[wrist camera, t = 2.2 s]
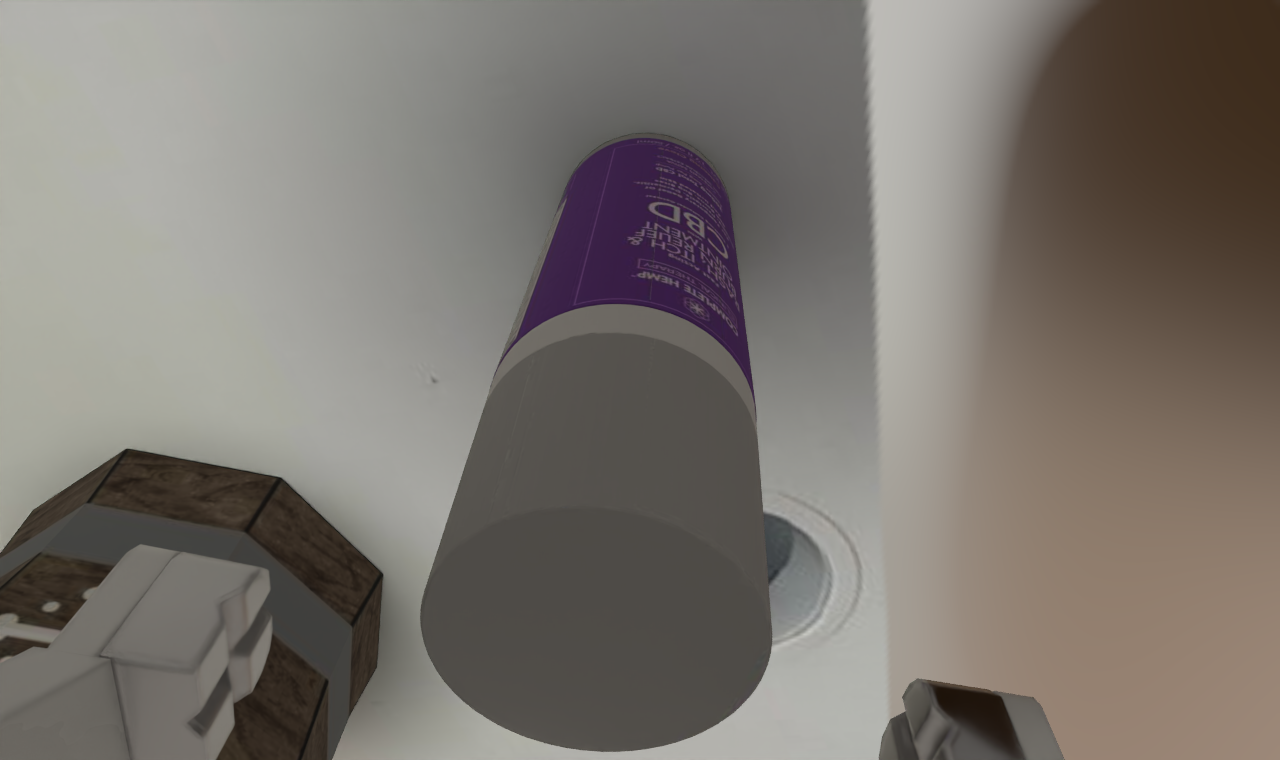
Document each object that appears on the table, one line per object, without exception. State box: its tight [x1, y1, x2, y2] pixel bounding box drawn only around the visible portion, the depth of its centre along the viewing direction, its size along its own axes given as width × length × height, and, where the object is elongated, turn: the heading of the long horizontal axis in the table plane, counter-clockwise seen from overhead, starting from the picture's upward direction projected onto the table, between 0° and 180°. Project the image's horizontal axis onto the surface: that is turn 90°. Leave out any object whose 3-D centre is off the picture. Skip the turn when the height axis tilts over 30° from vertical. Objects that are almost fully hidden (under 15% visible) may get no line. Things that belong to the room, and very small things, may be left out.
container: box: [420, 133, 772, 752], centre depth 17 cm, size 5×5×15 cm
